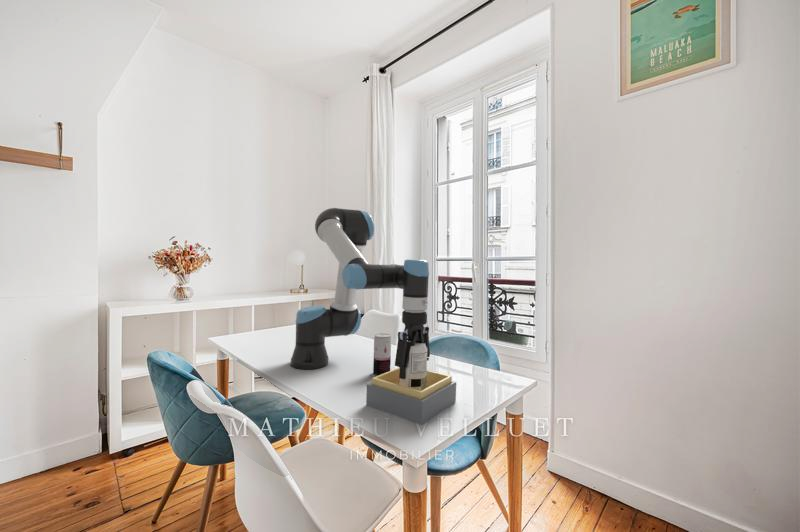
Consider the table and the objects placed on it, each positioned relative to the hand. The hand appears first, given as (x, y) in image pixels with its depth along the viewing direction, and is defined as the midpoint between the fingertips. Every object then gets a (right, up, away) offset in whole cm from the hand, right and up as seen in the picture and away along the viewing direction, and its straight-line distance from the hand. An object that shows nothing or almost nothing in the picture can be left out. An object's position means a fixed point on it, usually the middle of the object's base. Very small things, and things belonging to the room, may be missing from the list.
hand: (412, 384), depth 108 cm
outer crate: (0, -6, 0) cm, 6 cm away
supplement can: (0, -2, 0) cm, 2 cm away
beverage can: (-11, -6, +29) cm, 31 cm away
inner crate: (0, -6, 0) cm, 6 cm away
